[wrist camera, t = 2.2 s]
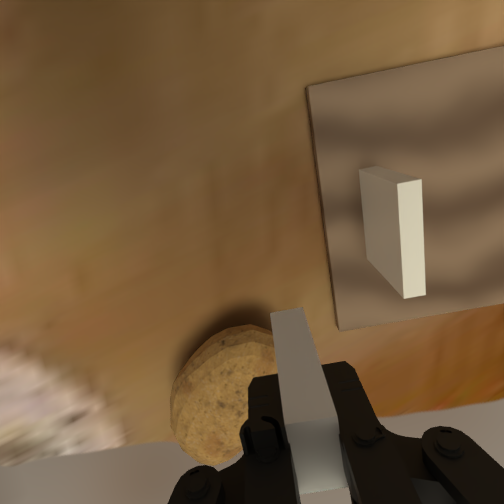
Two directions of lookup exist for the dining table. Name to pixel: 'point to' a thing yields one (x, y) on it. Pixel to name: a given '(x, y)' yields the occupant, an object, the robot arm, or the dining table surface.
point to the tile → (394, 228)
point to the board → (420, 166)
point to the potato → (219, 391)
